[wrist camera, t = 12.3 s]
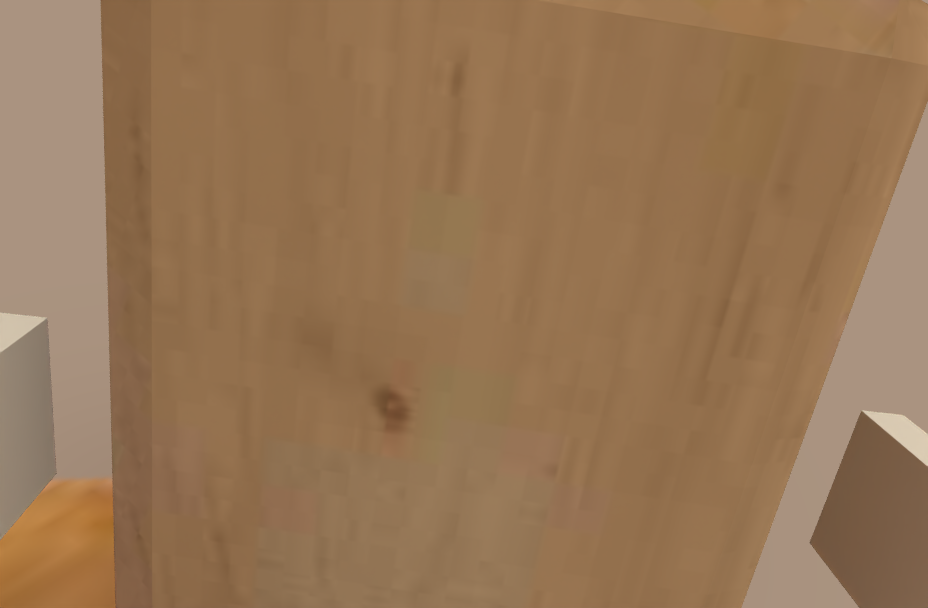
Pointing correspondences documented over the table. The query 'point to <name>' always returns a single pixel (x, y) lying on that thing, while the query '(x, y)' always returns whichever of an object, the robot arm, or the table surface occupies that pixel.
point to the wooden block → (481, 288)
